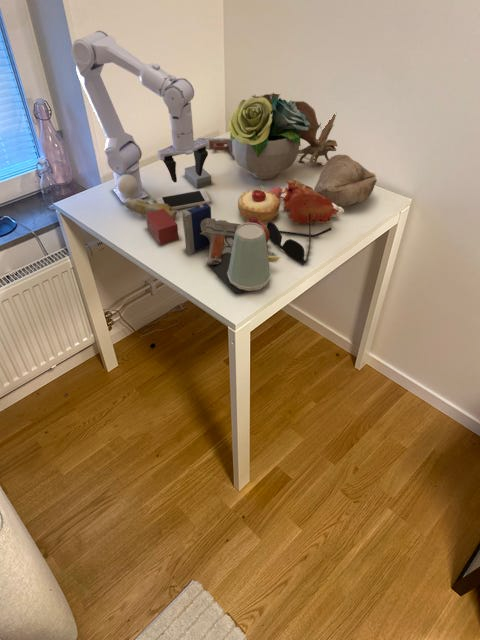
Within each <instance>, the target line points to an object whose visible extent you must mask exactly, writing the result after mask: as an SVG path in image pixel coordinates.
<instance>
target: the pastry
mask: <svg viewBox="0 0 480 640" xmlns="http://www.w3.org/2000/svg"><path fill="white" fill-rule="evenodd" d="M262 186H263V187H265V188H266V186H265V184H264V183H261V184H260V185H259V189H251V190H247V191H246V192H243V193H242V194H241V195H239V196H238V199H237V207H238V210H239V211H238V212H239V214H240V216H242V218H243V219H244V220H246V221H247V222H248V221H249V218H251V217H257V219H258V221H260V222H262V223H263V224H265V223H268V222H271V221H273V220H274V218H275V217H276V216H277V215H278V212H279V211H280V206H281V201H280V198H279V199H278V197H276V196H275V194H272V193H271V192H268V191H267V190H265V189H264V190H262V188H261V187H262Z"/></svg>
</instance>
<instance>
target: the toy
mask: <svg viewBox="0 0 480 640" xmlns="http://www.w3.org/2000/svg"><path fill="white" fill-rule="evenodd" d="M268 247H269V244H267V248H268ZM267 252H268V255H269V256H275V253H274V252H271V251H268V250H267Z"/></svg>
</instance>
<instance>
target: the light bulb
mask: <svg viewBox="0 0 480 640" xmlns="http://www.w3.org/2000/svg"><path fill="white" fill-rule="evenodd" d="M117 187H118V190H119V191H120V192H121V194H122V195H123V197H124V199H125V200H126V199H128V198H131V199H135V194H136V191H137V189H138V183H137V180H136V179H135V178H134V177H133V176H132V175H128V174H125V175H122V176H121V177H120V178H119V179H118V182H117Z"/></svg>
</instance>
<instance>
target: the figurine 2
mask: <svg viewBox="0 0 480 640" xmlns="http://www.w3.org/2000/svg"><path fill="white" fill-rule="evenodd" d="M287 189H289V188H288V187H287ZM267 192H271V193H272V194H275V196H276V197H278V199H279V200H280V199H282V200H283V199H284V198H285V196H283V195H282V194H285V195H287V192H286V191H285V190H283V187H281V186H273V187H272V188H270V189H269V190H268V191H267ZM283 204H284V205H285V203H284V202H283ZM283 211H284V212H287V213H289V210H287V209H284V208H283Z"/></svg>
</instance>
